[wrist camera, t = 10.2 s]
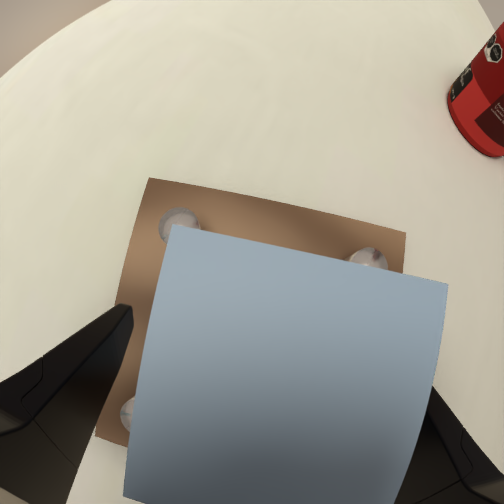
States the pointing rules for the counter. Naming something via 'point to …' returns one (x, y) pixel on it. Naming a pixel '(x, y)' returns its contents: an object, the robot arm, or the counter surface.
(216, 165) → the counter surface
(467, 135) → the canned food
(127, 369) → the peg stand
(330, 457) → the slate blue block
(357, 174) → the counter surface
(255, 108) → the counter surface
